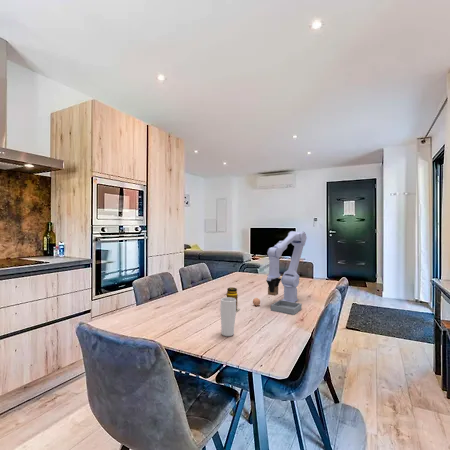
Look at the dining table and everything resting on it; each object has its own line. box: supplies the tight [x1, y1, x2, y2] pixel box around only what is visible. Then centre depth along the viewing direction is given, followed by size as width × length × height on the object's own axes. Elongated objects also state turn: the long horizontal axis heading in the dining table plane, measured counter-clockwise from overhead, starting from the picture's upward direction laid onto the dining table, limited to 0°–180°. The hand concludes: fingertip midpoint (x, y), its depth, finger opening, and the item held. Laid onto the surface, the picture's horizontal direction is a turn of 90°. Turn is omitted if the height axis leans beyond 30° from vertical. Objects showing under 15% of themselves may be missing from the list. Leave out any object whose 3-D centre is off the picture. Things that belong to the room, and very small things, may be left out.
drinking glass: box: [219, 297, 237, 337], centre depth 121 cm, size 7×7×15 cm
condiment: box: [225, 287, 241, 312], centre depth 155 cm, size 7×8×12 cm
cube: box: [267, 286, 279, 297], centre depth 165 cm, size 4×4×4 cm
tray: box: [270, 299, 303, 316], centre depth 158 cm, size 13×13×3 cm
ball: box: [252, 297, 261, 307], centre depth 165 cm, size 4×4×4 cm
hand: (273, 291), depth 165 cm, fingers closed on cube, 4 cm apart
